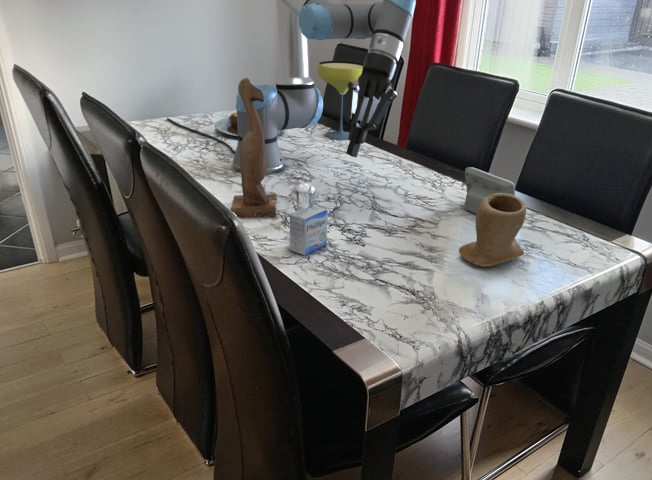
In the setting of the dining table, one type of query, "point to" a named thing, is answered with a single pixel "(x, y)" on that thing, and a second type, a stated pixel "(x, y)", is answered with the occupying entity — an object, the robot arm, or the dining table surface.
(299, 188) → the milkshake
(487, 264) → the stone cup
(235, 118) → the food on plate
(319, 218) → the medicine box
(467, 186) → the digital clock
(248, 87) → the bird sculpture
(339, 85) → the cocktail glass
